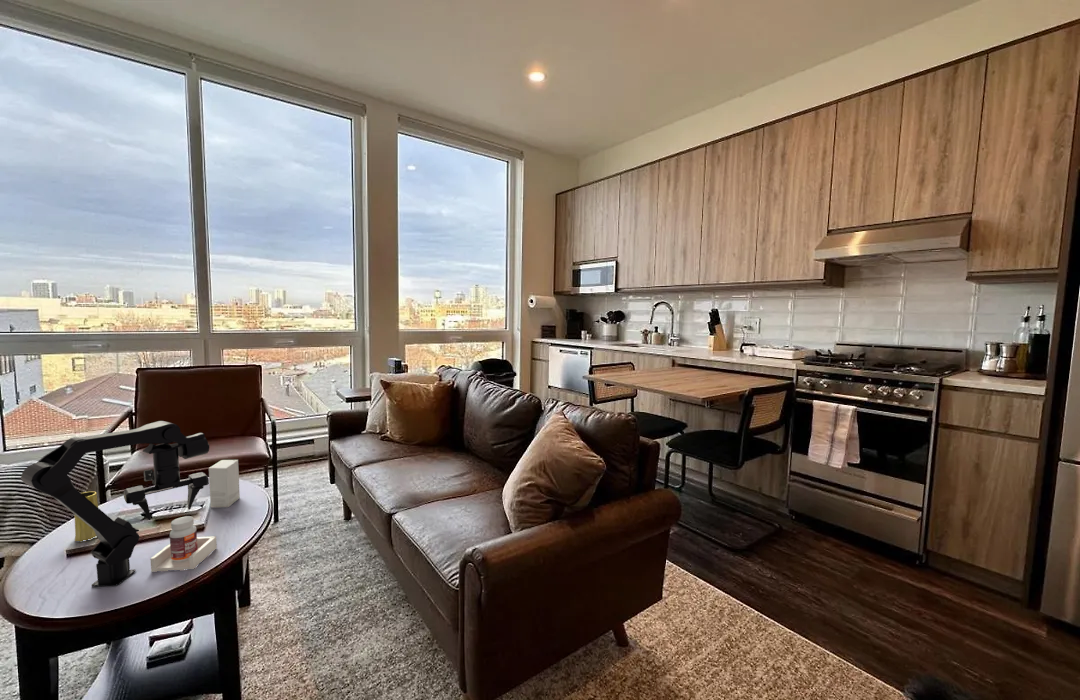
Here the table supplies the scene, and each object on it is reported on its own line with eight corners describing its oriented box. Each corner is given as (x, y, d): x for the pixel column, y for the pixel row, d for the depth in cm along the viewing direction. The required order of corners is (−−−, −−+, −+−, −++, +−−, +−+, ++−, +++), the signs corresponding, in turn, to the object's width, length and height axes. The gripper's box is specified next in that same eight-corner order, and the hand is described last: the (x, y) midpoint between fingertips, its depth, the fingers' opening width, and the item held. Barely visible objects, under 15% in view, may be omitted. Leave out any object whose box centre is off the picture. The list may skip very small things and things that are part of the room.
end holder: (194, 569, 126) (193, 556, 125) (151, 572, 124) (150, 558, 124) (216, 548, 136) (216, 536, 136) (177, 550, 135) (177, 537, 135)
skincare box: (223, 498, 170) (221, 459, 169) (241, 497, 171) (239, 459, 169) (209, 508, 162) (207, 467, 160) (228, 507, 163) (226, 467, 161)
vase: (73, 544, 137) (69, 500, 135) (76, 536, 141) (72, 493, 140) (101, 538, 141) (97, 495, 139) (102, 530, 145) (99, 489, 144)
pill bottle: (189, 562, 127) (187, 524, 126) (166, 563, 127) (163, 525, 125) (202, 550, 134) (200, 514, 132) (180, 551, 133) (177, 515, 132)
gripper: (198, 450, 142) (201, 496, 144) (119, 465, 128) (123, 516, 130) (207, 458, 135) (210, 507, 137) (124, 475, 121) (128, 529, 122)
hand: (169, 514), depth 131 cm, fingers open, 9 cm apart
